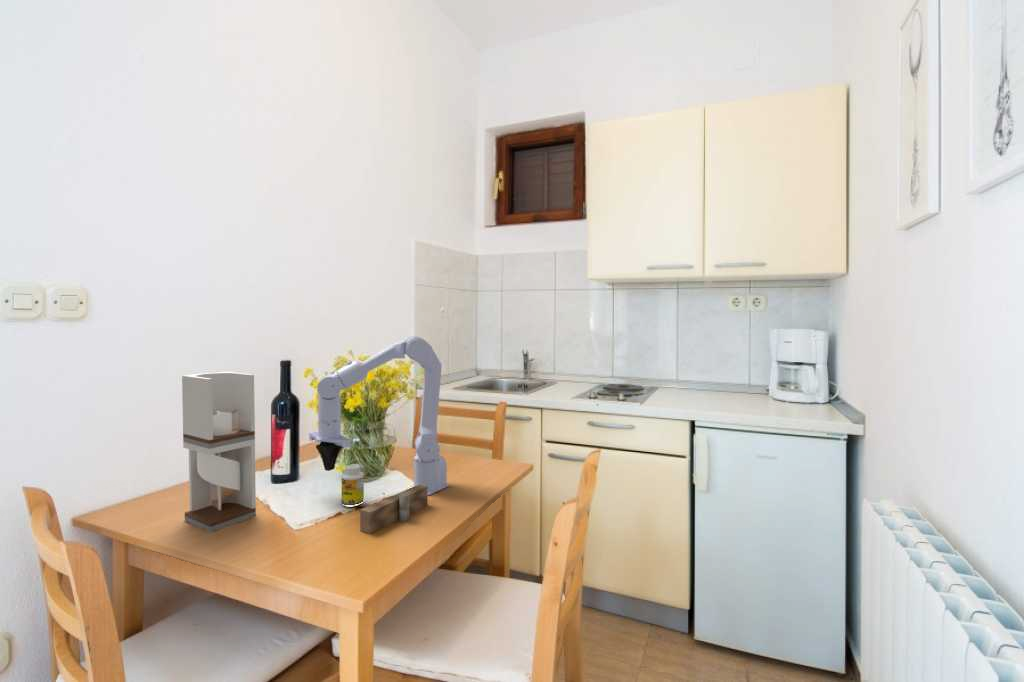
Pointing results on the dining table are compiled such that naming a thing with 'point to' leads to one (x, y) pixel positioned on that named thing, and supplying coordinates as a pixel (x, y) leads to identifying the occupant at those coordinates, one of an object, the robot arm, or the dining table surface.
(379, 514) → the stop bar
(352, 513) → the dining table surface
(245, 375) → the white tower model
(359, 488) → the supplement bottle
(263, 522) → the dining table surface
